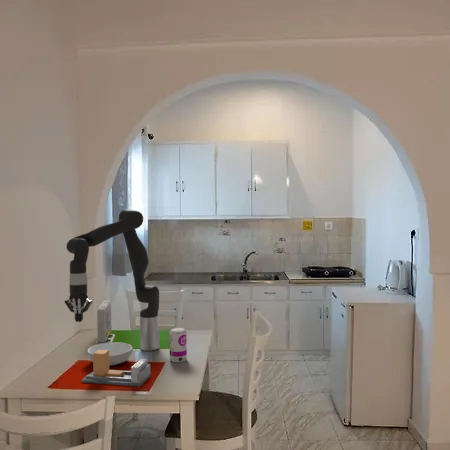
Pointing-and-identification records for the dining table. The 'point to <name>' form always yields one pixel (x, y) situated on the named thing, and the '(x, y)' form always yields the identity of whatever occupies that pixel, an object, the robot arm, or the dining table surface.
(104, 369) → the block
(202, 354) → the dining table surface
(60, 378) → the dining table surface
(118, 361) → the serving bowl
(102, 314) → the network device
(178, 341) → the supplement can
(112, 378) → the rail
